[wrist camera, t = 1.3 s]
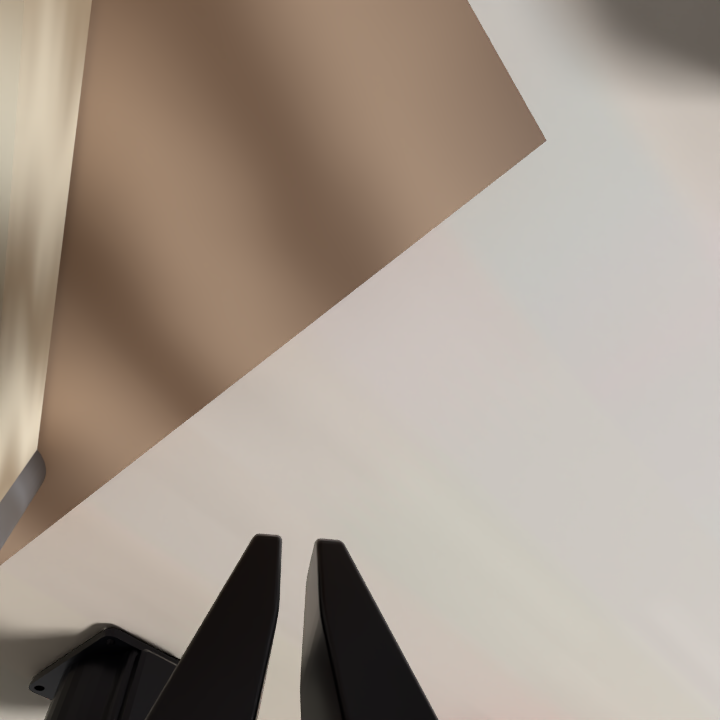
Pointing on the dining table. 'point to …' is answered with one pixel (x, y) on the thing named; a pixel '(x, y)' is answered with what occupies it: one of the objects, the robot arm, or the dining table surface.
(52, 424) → the stool seat
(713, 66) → the dining table surface
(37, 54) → the hinged leg
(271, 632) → the robot arm
